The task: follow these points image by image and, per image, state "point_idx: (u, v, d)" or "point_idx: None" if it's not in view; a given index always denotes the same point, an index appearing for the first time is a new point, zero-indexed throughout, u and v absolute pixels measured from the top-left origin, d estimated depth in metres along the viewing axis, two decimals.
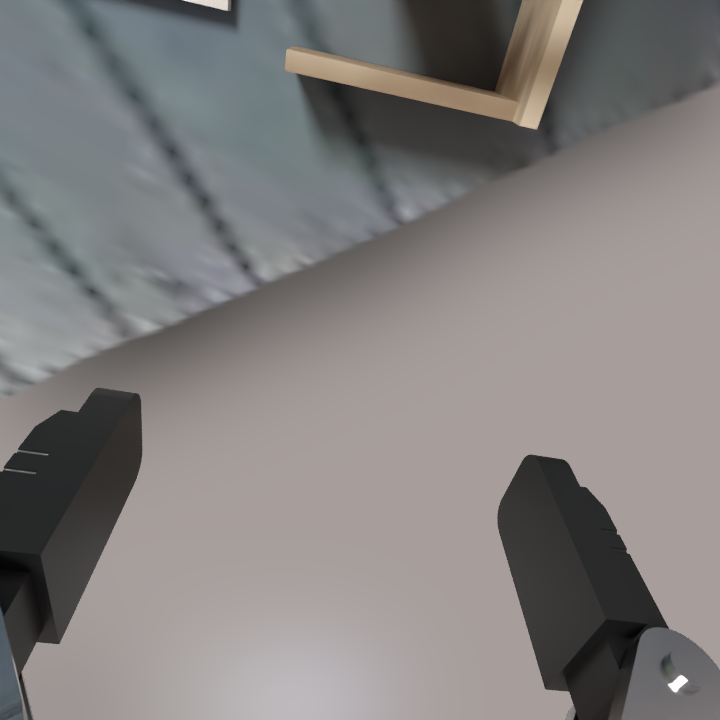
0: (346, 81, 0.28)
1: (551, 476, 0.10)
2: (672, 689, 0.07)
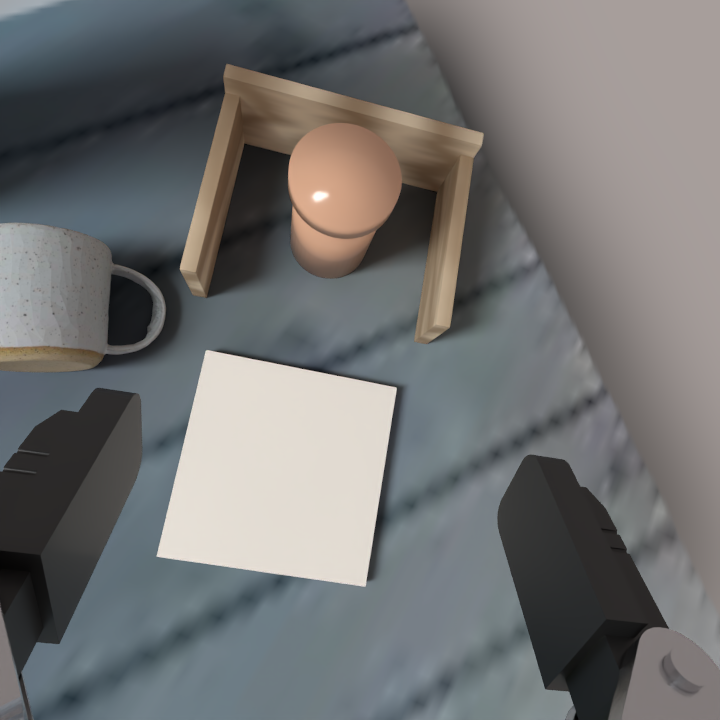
0: (454, 281, 0.35)
1: (551, 476, 0.10)
2: (672, 689, 0.07)
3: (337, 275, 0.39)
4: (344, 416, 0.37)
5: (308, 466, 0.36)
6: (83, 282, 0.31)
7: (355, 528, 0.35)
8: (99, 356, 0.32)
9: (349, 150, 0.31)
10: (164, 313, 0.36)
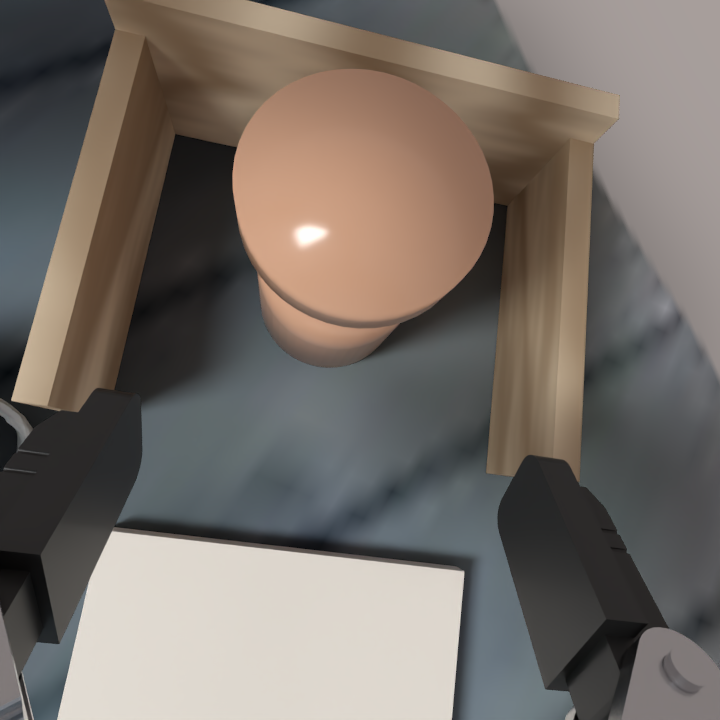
0: (580, 384, 0.18)
1: (551, 476, 0.10)
2: (672, 689, 0.07)
3: (346, 363, 0.22)
4: (371, 639, 0.19)
5: None
6: None
7: None
8: None
9: (373, 129, 0.13)
10: None
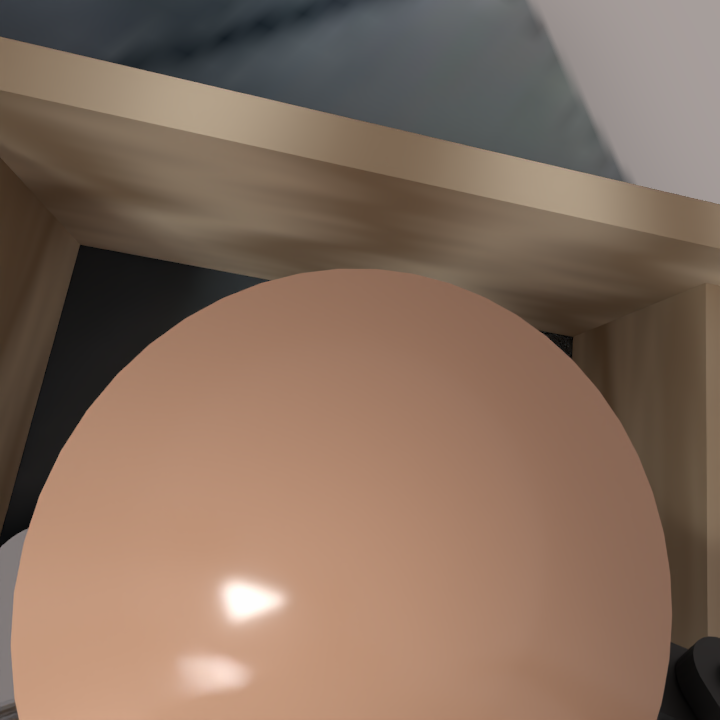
0: None
1: None
2: None
3: None
4: None
5: None
6: None
7: None
8: None
9: (387, 424, 0.06)
10: None
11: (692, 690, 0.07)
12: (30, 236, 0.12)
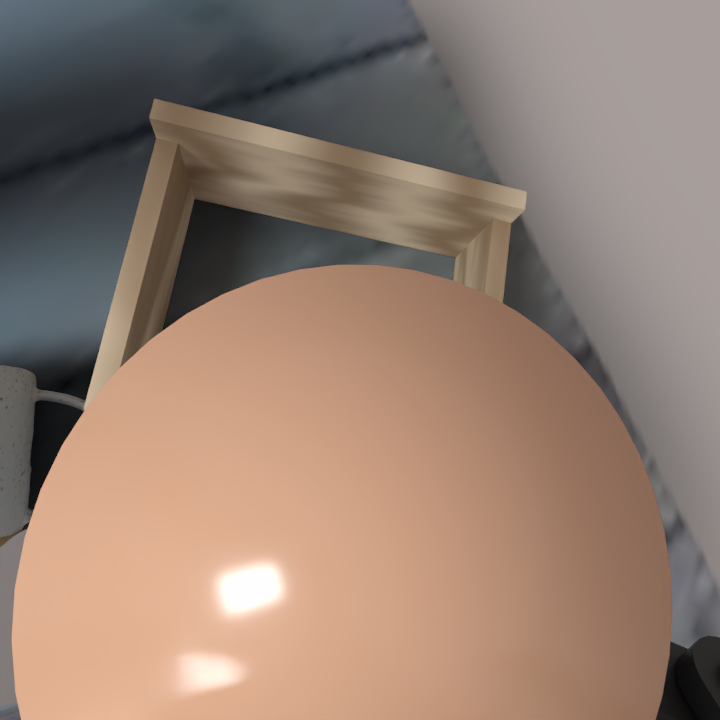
0: None
1: None
2: None
3: None
4: None
5: None
6: None
7: None
8: None
9: (387, 420, 0.06)
10: None
11: (692, 690, 0.07)
12: (183, 191, 0.27)
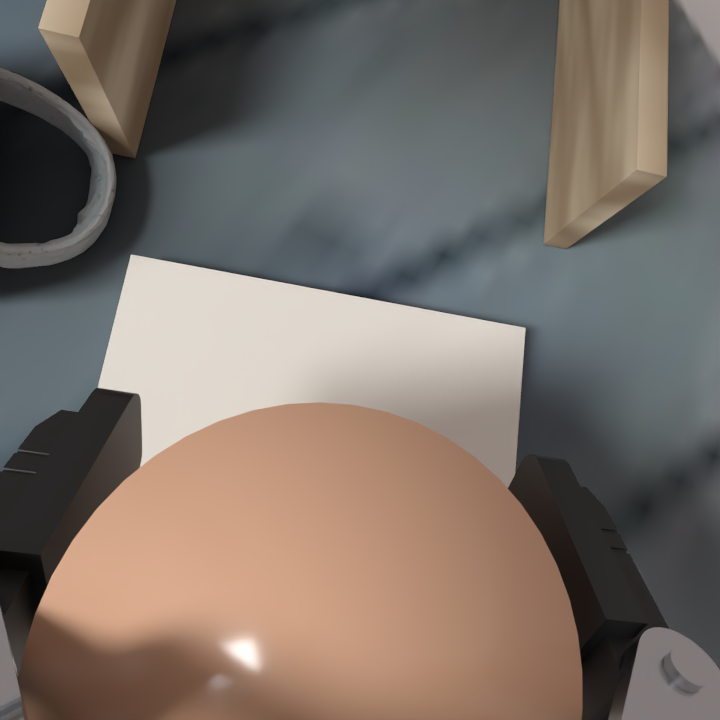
0: (664, 81, 0.16)
1: (551, 476, 0.10)
2: (672, 689, 0.07)
3: None
4: (426, 387, 0.18)
5: None
6: None
7: None
8: None
9: (328, 543, 0.06)
10: (112, 185, 0.17)
11: None
12: None
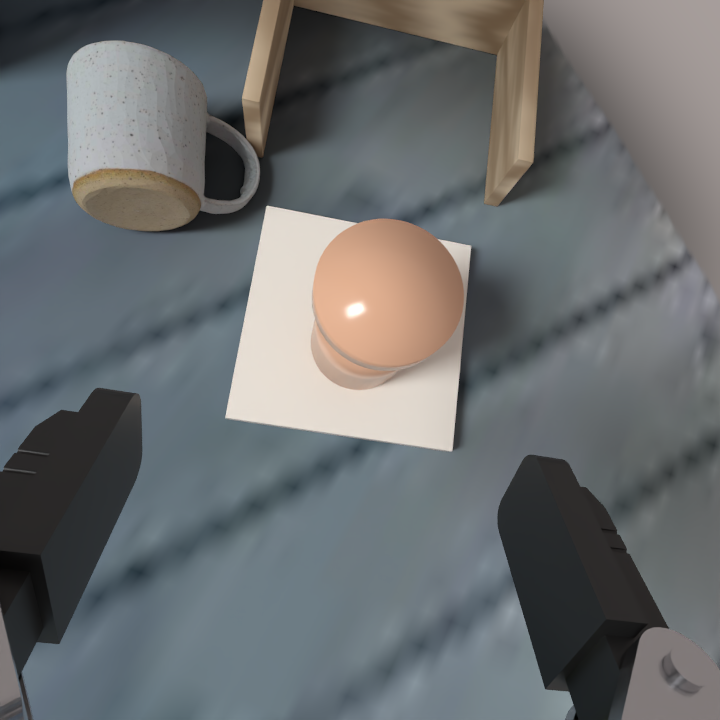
0: (534, 116, 0.32)
1: (551, 476, 0.10)
2: (672, 689, 0.07)
3: (371, 387, 0.31)
4: None
5: None
6: (186, 115, 0.29)
7: (437, 390, 0.32)
8: (199, 202, 0.30)
9: (392, 255, 0.23)
10: (259, 173, 0.33)
11: None
12: None
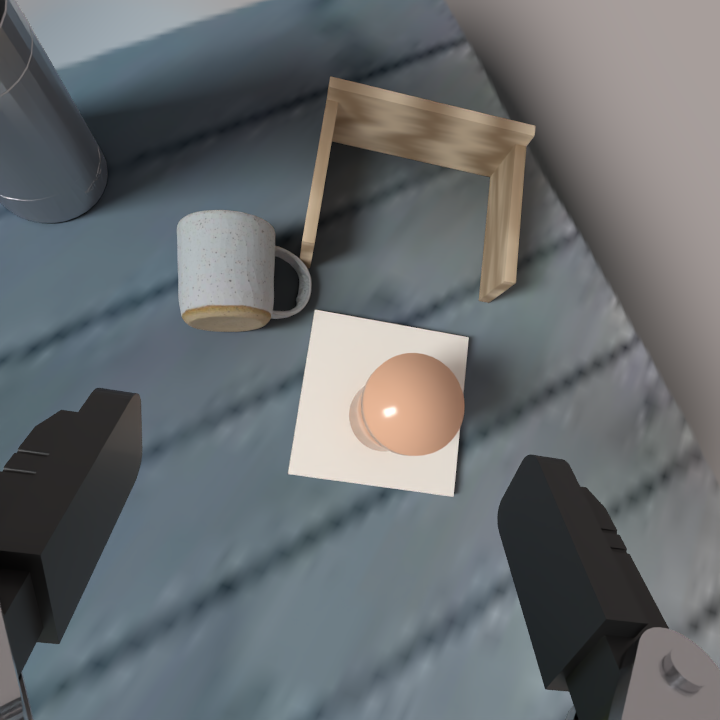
0: (517, 246, 0.43)
1: (551, 476, 0.10)
2: (672, 690, 0.07)
3: None
4: None
5: None
6: (265, 258, 0.39)
7: (442, 450, 0.43)
8: (270, 317, 0.41)
9: (416, 379, 0.34)
10: (310, 287, 0.44)
11: None
12: None
